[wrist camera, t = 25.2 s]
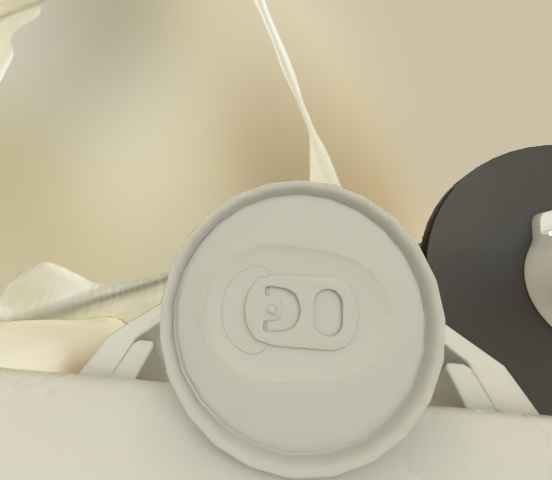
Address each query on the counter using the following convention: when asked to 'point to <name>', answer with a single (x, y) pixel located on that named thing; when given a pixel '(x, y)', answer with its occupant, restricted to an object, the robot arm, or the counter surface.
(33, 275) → the counter surface
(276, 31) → the counter surface
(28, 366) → the drinking glass
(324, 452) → the beverage can
